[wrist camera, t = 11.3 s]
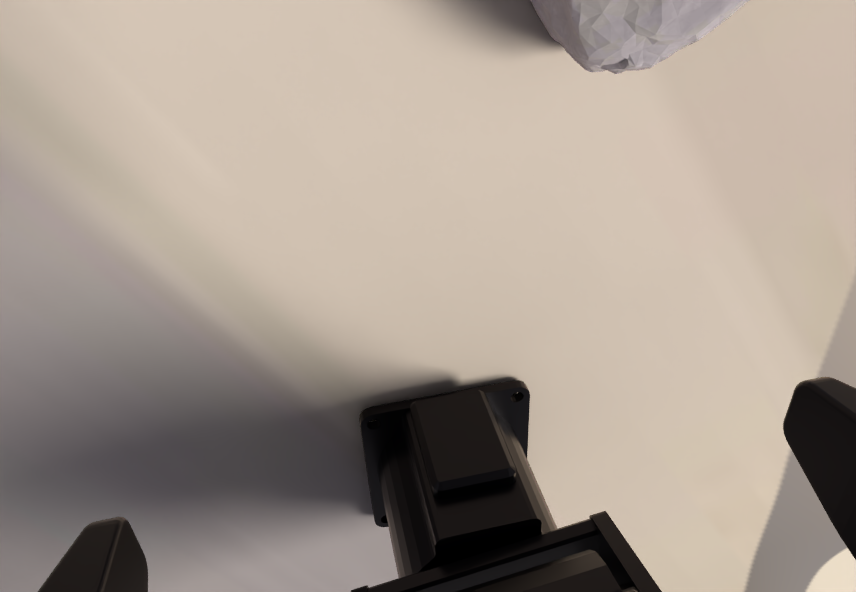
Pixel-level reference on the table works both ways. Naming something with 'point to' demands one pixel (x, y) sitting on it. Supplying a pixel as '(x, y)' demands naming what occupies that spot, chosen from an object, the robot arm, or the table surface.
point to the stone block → (629, 28)
